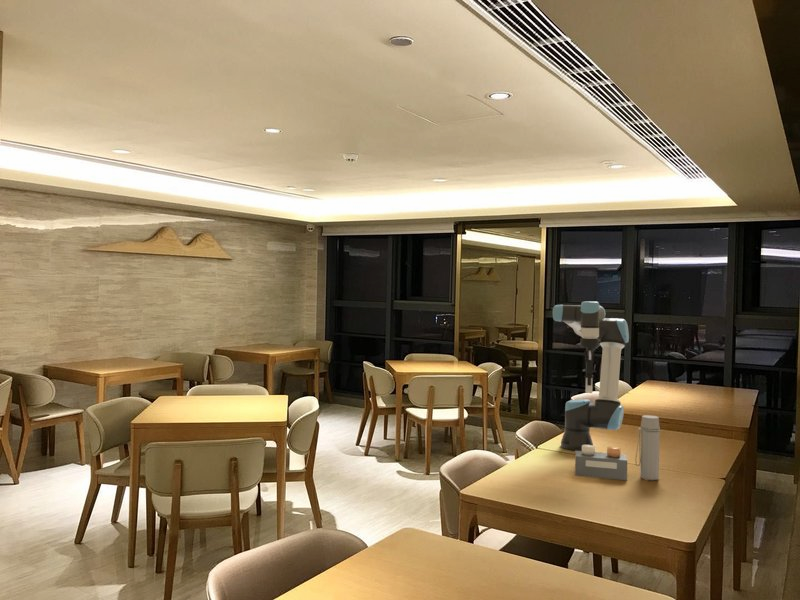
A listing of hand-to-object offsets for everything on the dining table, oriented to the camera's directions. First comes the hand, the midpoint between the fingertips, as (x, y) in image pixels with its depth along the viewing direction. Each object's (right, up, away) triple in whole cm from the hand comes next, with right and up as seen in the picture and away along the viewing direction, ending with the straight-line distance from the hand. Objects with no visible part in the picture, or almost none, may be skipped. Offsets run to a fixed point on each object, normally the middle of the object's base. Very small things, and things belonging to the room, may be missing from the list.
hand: (588, 392), depth 274 cm
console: (+2, -32, -10) cm, 34 cm away
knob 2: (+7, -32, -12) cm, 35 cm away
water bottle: (+19, -33, -14) cm, 41 cm away
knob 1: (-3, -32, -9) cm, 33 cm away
